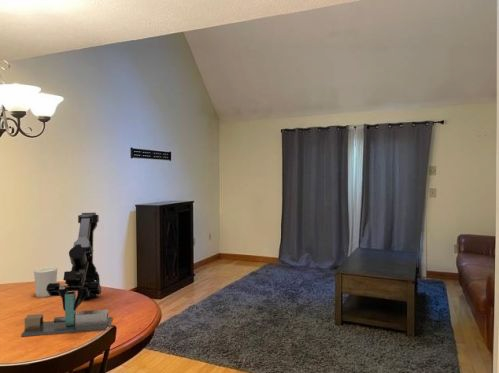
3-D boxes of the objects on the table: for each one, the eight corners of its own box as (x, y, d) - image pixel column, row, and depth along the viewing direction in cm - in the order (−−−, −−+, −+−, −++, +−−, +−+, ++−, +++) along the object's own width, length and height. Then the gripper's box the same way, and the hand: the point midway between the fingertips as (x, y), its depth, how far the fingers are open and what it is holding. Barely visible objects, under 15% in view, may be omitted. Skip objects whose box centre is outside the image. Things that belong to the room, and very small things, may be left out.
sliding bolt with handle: (106, 319, 143) (106, 289, 143) (105, 322, 141) (105, 292, 140) (55, 323, 140) (55, 292, 139) (53, 326, 137) (52, 295, 136)
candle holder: (62, 292, 180) (62, 267, 180) (45, 298, 171) (44, 272, 170) (46, 290, 183) (46, 266, 183) (29, 296, 174) (28, 270, 173)
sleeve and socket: (112, 319, 147) (112, 306, 147) (108, 329, 138) (108, 315, 137) (31, 325, 141) (31, 312, 141) (21, 336, 131) (21, 322, 131)
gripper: (47, 262, 141) (35, 301, 131) (99, 260, 144) (91, 298, 133) (56, 277, 149) (45, 314, 139) (104, 275, 152) (97, 312, 141)
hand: (69, 310), depth 138 cm, fingers closed on sliding bolt with handle, 3 cm apart
